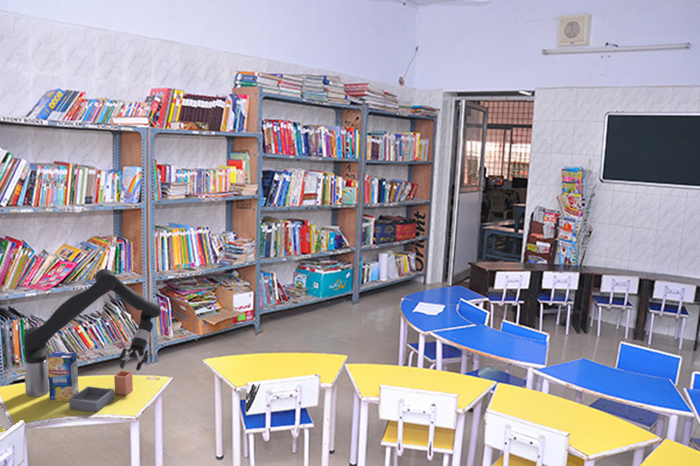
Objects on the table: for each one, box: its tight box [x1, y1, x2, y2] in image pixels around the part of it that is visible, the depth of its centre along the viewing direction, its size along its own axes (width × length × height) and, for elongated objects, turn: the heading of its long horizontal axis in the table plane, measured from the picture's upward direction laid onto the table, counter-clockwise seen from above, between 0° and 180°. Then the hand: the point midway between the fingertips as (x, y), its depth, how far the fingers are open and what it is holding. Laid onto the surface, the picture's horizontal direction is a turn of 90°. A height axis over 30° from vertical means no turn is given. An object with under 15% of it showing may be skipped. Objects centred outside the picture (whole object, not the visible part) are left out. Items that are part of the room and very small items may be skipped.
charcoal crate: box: [68, 385, 115, 414], centre depth 271 cm, size 14×14×5 cm
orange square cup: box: [113, 370, 134, 397], centre depth 283 cm, size 6×6×10 cm
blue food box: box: [47, 351, 80, 402], centre depth 275 cm, size 7×11×22 cm, turn 92°
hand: (129, 369), depth 287 cm, fingers open, 8 cm apart
